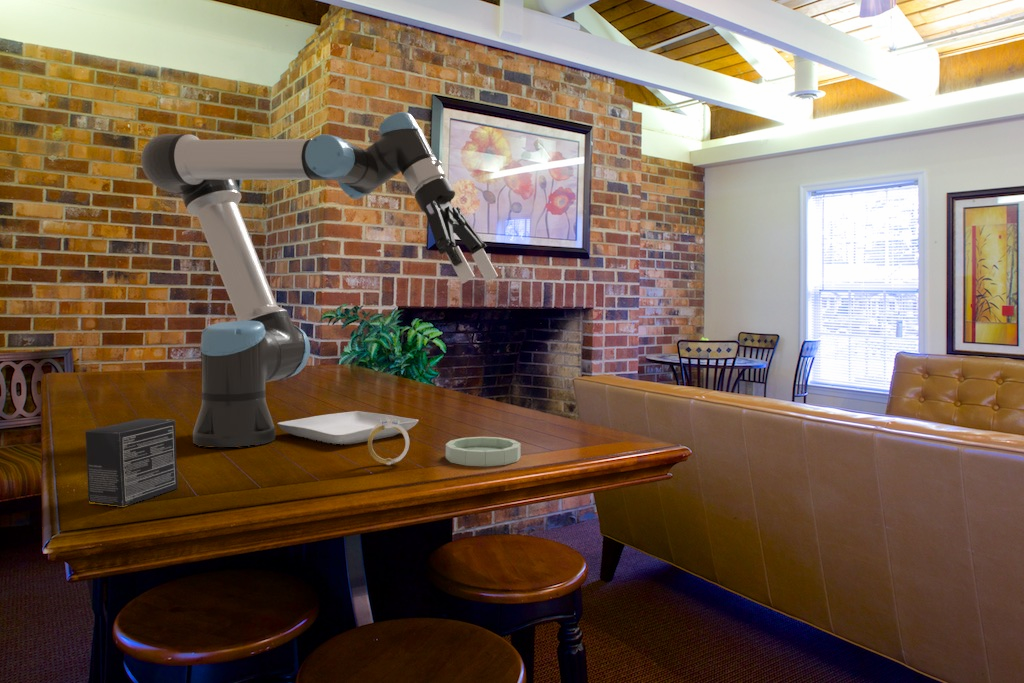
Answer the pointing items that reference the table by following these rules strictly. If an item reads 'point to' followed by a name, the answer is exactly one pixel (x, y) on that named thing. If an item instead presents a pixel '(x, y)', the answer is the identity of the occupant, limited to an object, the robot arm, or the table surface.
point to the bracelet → (386, 424)
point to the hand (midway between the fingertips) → (481, 279)
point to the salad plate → (344, 427)
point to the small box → (131, 461)
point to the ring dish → (483, 451)
